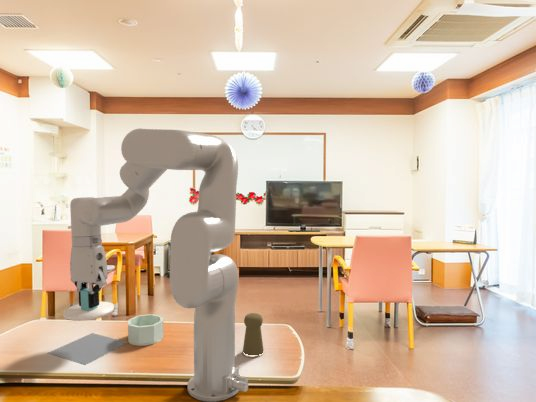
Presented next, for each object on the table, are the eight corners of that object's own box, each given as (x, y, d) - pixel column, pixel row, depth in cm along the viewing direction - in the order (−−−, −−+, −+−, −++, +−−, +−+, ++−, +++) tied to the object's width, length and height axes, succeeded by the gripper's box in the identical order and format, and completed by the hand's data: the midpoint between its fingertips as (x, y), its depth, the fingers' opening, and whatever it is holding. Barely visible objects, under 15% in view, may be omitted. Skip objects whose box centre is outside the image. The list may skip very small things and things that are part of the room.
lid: (124, 308, 114) (123, 286, 114) (86, 323, 102) (85, 299, 102) (92, 302, 119) (91, 281, 119) (53, 316, 108) (52, 293, 107)
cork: (250, 345, 115) (250, 309, 114) (267, 350, 112) (268, 313, 111) (238, 354, 110) (238, 315, 109) (256, 359, 107) (256, 320, 106)
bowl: (169, 336, 121) (169, 317, 120) (147, 349, 112) (146, 329, 111) (144, 330, 125) (144, 312, 125) (120, 343, 116) (120, 323, 116)
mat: (128, 343, 116) (128, 342, 115) (85, 366, 102) (85, 364, 102) (92, 334, 122) (92, 333, 122) (47, 354, 108) (47, 353, 108)
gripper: (118, 241, 109) (120, 305, 111) (77, 237, 116) (80, 298, 118) (96, 245, 103) (99, 314, 104) (54, 241, 110) (57, 306, 111)
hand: (89, 305), depth 111 cm, fingers closed on lid, 3 cm apart
